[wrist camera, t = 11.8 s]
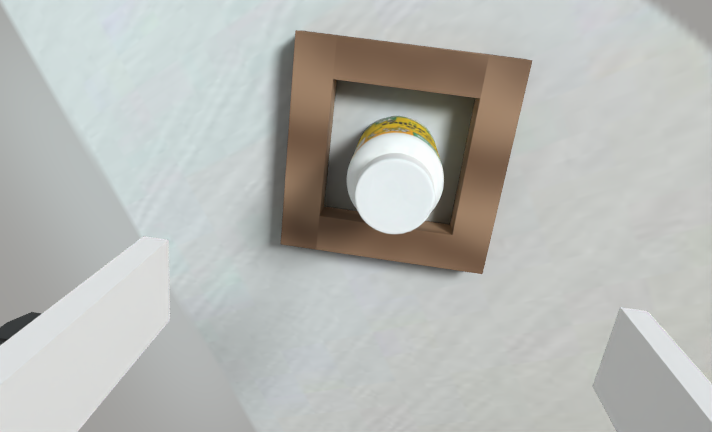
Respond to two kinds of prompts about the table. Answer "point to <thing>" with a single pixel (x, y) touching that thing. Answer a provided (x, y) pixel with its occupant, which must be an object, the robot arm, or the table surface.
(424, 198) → the supplement bottle
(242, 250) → the table surface
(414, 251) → the holder frame
